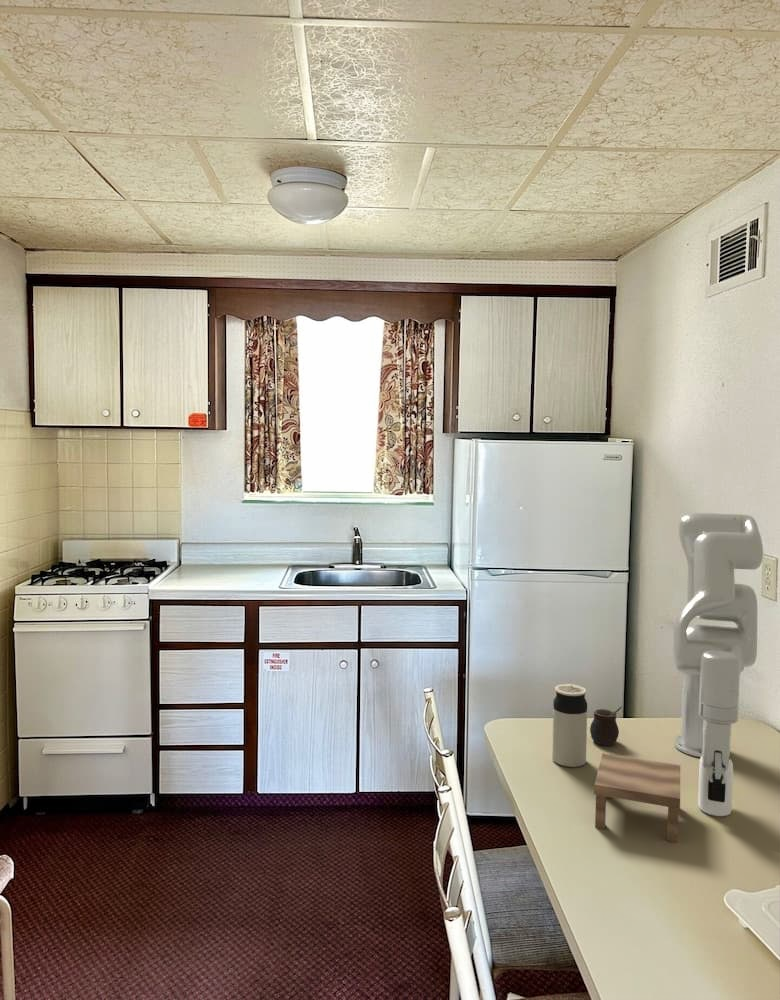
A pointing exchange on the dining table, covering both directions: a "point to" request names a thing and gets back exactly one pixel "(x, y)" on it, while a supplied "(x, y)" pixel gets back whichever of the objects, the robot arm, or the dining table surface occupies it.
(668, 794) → the small wooden table
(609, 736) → the mate gourd
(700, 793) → the can
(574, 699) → the travel mug
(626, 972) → the dining table surface
